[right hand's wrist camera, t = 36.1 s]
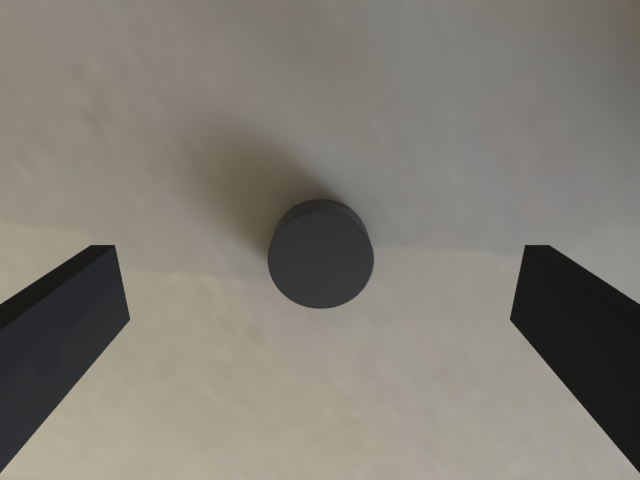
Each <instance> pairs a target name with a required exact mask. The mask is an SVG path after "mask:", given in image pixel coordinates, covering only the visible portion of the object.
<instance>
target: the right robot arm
mask: <svg viewBox="0 0 640 480" xmlns="http://www.w3.org/2000/svg"><path fill="white" fill-rule="evenodd" d="M129 320H130V316H129V312H128V307H127V302H126V297H125V292H124V287H123V282H122V278H121V273H120V268H119V263H118V258H117V253H116V248H115V245H90V246H89V247H87V248H86V249H84V250H83V251H81V252H80V253H78V254H77V255H75V256H74V257H72V258H71V259H69V260H67V261H66V262H64V263H63V264H61V265H60V266H58V267H57V268H55V269H54V270H52V271H51V272H49V273H48V274H46V275H45V276H43V277H41V278H40V279H38V280H37V281H35V282H34V283H32V284H31V285H29V286H28V287H26V288H25V289H23V290H22V291H20V292H19V293H17V294H16V295H14V296H12V297H11V298H9V299H8V300H6V301H5V302H3V303H2V304H0V473H1V472H2V470H3V469H4V468H5V467H6V466H7V465H8V463H9V462H10V461H11V460H12V459H13V457H14V456H15V455H16V454H17V453H18V452H19V450H20V449H21V448H22V447H23V446H24V444H25V443H26V442H27V441H28V440H29V439H30V437H31V436H32V435H33V434H34V433H35V431H36V430H37V429H38V428H39V427H40V426H41V424H42V423H43V422H44V421H45V420H46V418H47V417H48V416H49V415H50V414H51V413H52V411H53V410H54V409H55V408H56V407H57V405H58V404H59V403H60V402H61V401H62V400H63V398H64V397H65V396H66V395H67V394H68V392H69V391H70V390H71V389H72V388H73V387H74V385H75V384H76V383H77V382H78V381H79V379H80V378H81V377H82V376H83V375H84V374H85V372H86V371H87V370H88V369H89V368H90V366H91V365H92V364H93V363H94V362H95V361H96V359H97V358H98V357H99V356H100V355H101V353H102V352H103V351H104V350H105V349H106V348H107V346H108V345H109V344H110V343H111V342H112V340H113V339H114V338H115V337H116V336H117V335H118V333H119V332H120V331H121V330H122V329H123V327H124V326H125V325H126V324H127V323H128V322H129ZM510 320H511V322H512V323H513V324H514V325H515V326H516V327H517V329H518V330H519V331H520V332H521V333H522V335H523V336H524V337H525V338H526V339H527V340H528V342H529V343H530V344H531V345H532V346H533V348H534V349H535V350H536V351H537V352H538V353H539V355H540V356H541V357H542V358H543V359H544V361H545V362H546V363H547V364H548V365H549V366H550V368H551V369H552V370H553V371H554V372H555V374H556V375H557V376H558V377H559V378H560V379H561V381H562V382H563V383H564V384H565V385H566V387H567V388H568V389H569V390H570V391H571V392H572V394H573V395H574V396H575V397H576V398H577V400H578V401H579V402H580V403H581V404H582V405H583V407H584V408H585V409H586V410H587V411H588V413H589V414H590V415H591V416H592V417H593V418H594V420H595V421H596V422H597V423H598V424H599V426H600V427H601V428H602V429H603V430H604V431H605V433H606V434H607V435H608V436H609V437H610V439H611V440H612V441H613V442H614V443H615V444H616V446H617V447H618V448H619V449H620V450H621V452H622V453H623V454H624V455H625V456H626V457H627V459H628V460H629V461H630V462H631V463H632V465H633V466H634V467H635V468H636V469H637V470H638V472H639V473H640V304H638V303H637V302H635V301H634V300H632V299H631V298H629V297H628V296H626V295H624V294H623V293H621V292H620V291H618V290H617V289H615V288H614V287H612V286H611V285H609V284H608V283H606V282H605V281H603V280H602V279H600V278H599V277H597V276H595V275H594V274H592V273H591V272H589V271H588V270H586V269H585V268H583V267H582V266H580V265H579V264H577V263H576V262H574V261H573V260H571V259H569V258H568V257H566V256H565V255H563V254H562V253H560V252H559V251H557V250H556V249H554V248H553V247H551V246H550V245H525V248H524V253H523V258H522V263H521V268H520V273H519V278H518V282H517V287H516V292H515V297H514V302H513V307H512V312H511V316H510Z"/></svg>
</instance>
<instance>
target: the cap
mask: <svg viewBox="0 0 640 480" xmlns="http://www.w3.org/2000/svg"><path fill="white" fill-rule="evenodd" d="M373 266H374V254H373V249H372V245H371V242H370V239H369V237H368V234H367V231H366V228H365V226H364V224H363V222H362V221H361V219H360V218H359V217H358V216H357V214H356V213H355V212H353V211H352V210H351V209H350V208H348V207H346V206H345V205H343V204H340V203H338V202H335V201H330V200H312V201H307V202H304V203H301V204H299V205H297V206H295V207H294V208H292V209H291V210H290V211H289V212H287V213H286V214H285V215H284V217H283V218H282V219H281V220H280V222H279V224H278V226H277V228H276V230H275V233H274V236H273V239H272V242H271V245H270V248H269V253H268V267H269V271H270V275H271V277H272V280H273V282H274V283H275V285H276V286H277V288H278V289H279V290H280V291H281V292H282V293H283V294H284V295H285V296H286V297H287V298H289V299H290V300H292V301H293V302H295V303H297V304H300V305H302V306H306V307H310V308H318V309H324V308H332V307H336V306H340V305H342V304H344V303H347V302H348V301H350V300H352V299H353V298H355V297H356V296H357V295H358V294H359V293H360V292H361V291H362V290H363V289H364V288H365V286H366V285H367V283H368V281H369V279H370V277H371V275H372V271H373Z"/></svg>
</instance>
